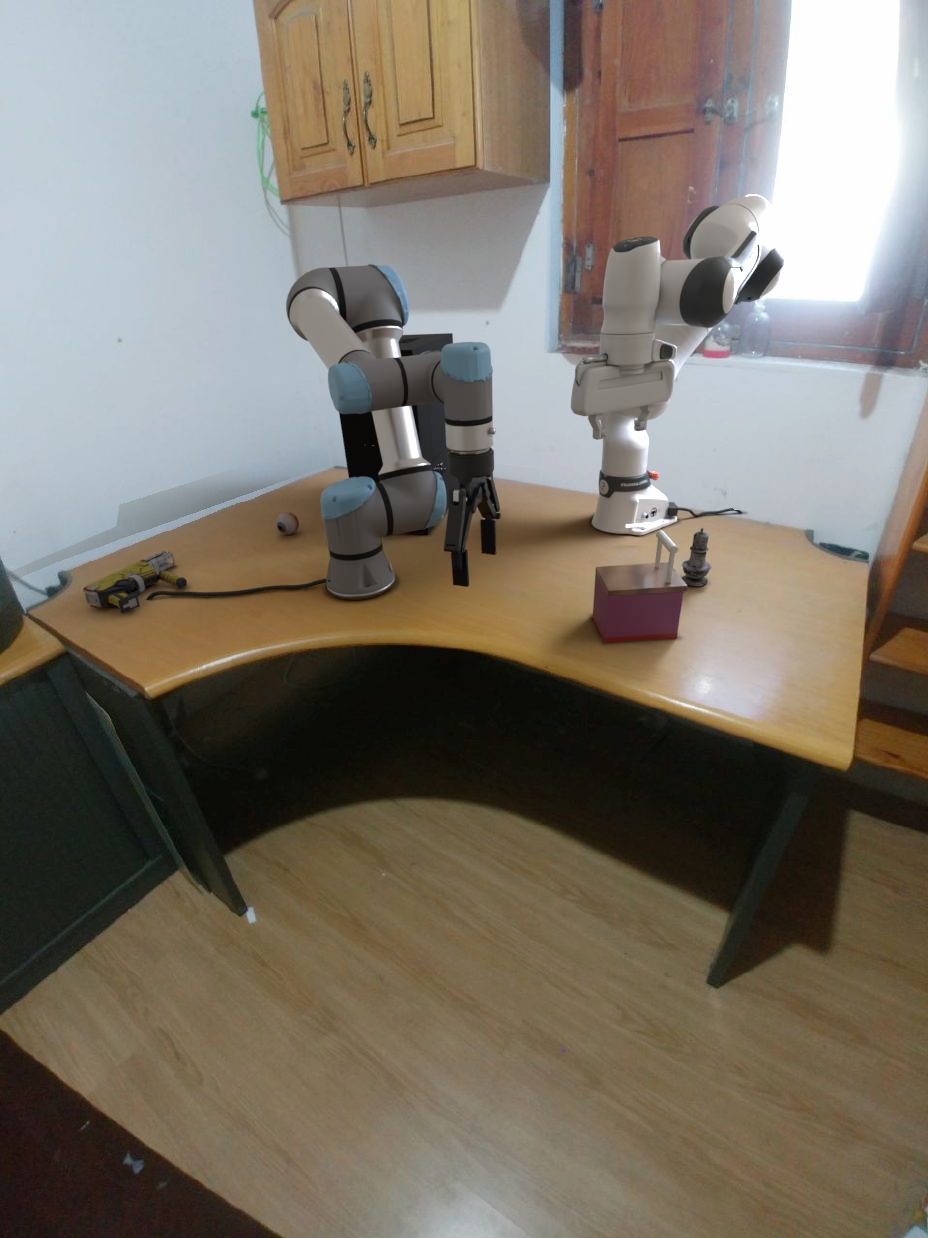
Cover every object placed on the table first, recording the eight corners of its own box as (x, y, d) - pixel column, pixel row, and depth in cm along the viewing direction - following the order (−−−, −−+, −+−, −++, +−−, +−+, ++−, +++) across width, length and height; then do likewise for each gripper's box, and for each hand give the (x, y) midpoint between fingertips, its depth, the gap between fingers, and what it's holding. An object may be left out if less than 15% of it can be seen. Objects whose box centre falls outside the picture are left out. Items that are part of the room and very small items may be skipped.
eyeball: (273, 537, 164) (268, 516, 161) (287, 528, 169) (282, 508, 166) (291, 539, 161) (286, 518, 158) (305, 530, 166) (301, 510, 163)
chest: (659, 611, 119) (665, 567, 114) (676, 638, 110) (683, 591, 105) (592, 616, 119) (595, 572, 114) (604, 642, 110) (608, 596, 105)
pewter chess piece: (710, 587, 126) (720, 533, 120) (681, 586, 127) (688, 532, 121) (706, 574, 131) (715, 522, 125) (678, 573, 132) (685, 522, 126)
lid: (668, 567, 114) (673, 526, 110) (686, 591, 105) (693, 547, 101) (595, 572, 114) (598, 531, 110) (608, 596, 105) (611, 553, 101)
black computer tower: (428, 534, 159) (412, 349, 137) (356, 531, 164) (329, 352, 141) (461, 489, 191) (452, 333, 168) (400, 488, 195) (384, 335, 173)
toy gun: (211, 559, 145) (160, 548, 149) (132, 601, 125) (76, 587, 129) (214, 576, 147) (164, 565, 151) (137, 620, 127) (82, 606, 131)
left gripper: (462, 472, 85) (469, 603, 96) (516, 431, 105) (517, 543, 116) (415, 469, 88) (426, 597, 99) (476, 429, 108) (481, 539, 118)
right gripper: (588, 359, 95) (584, 447, 102) (684, 346, 103) (674, 429, 110) (564, 355, 100) (561, 440, 107) (657, 344, 108) (649, 423, 115)
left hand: (475, 568), depth 107 cm, fingers open, 13 cm apart
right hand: (619, 434), depth 108 cm, fingers open, 8 cm apart
